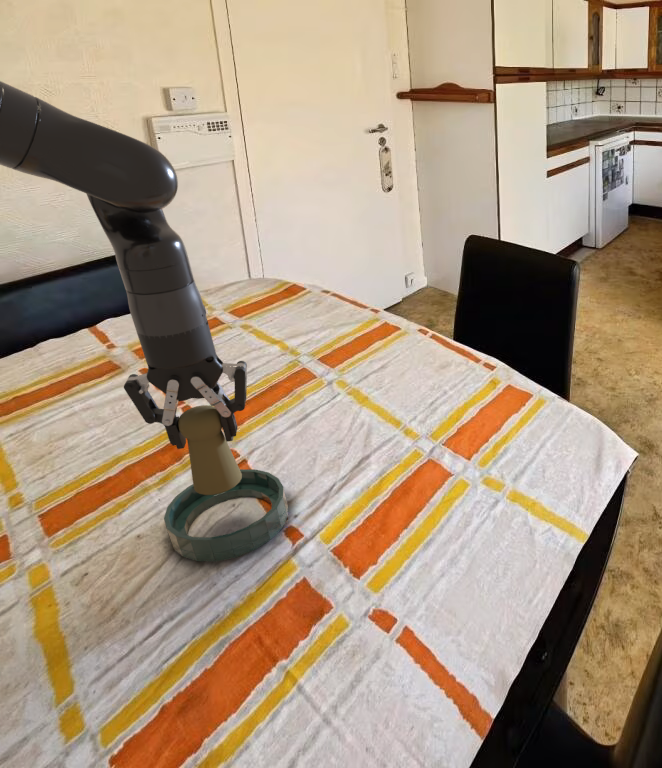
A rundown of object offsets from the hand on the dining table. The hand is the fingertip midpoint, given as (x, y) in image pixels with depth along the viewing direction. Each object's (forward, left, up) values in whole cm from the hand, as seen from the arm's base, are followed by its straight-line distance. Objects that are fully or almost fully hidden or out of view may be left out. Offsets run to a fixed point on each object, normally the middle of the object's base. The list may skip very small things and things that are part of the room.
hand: (206, 441), depth 81 cm
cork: (0, 0, -7) cm, 7 cm away
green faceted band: (0, 0, -15) cm, 15 cm away
